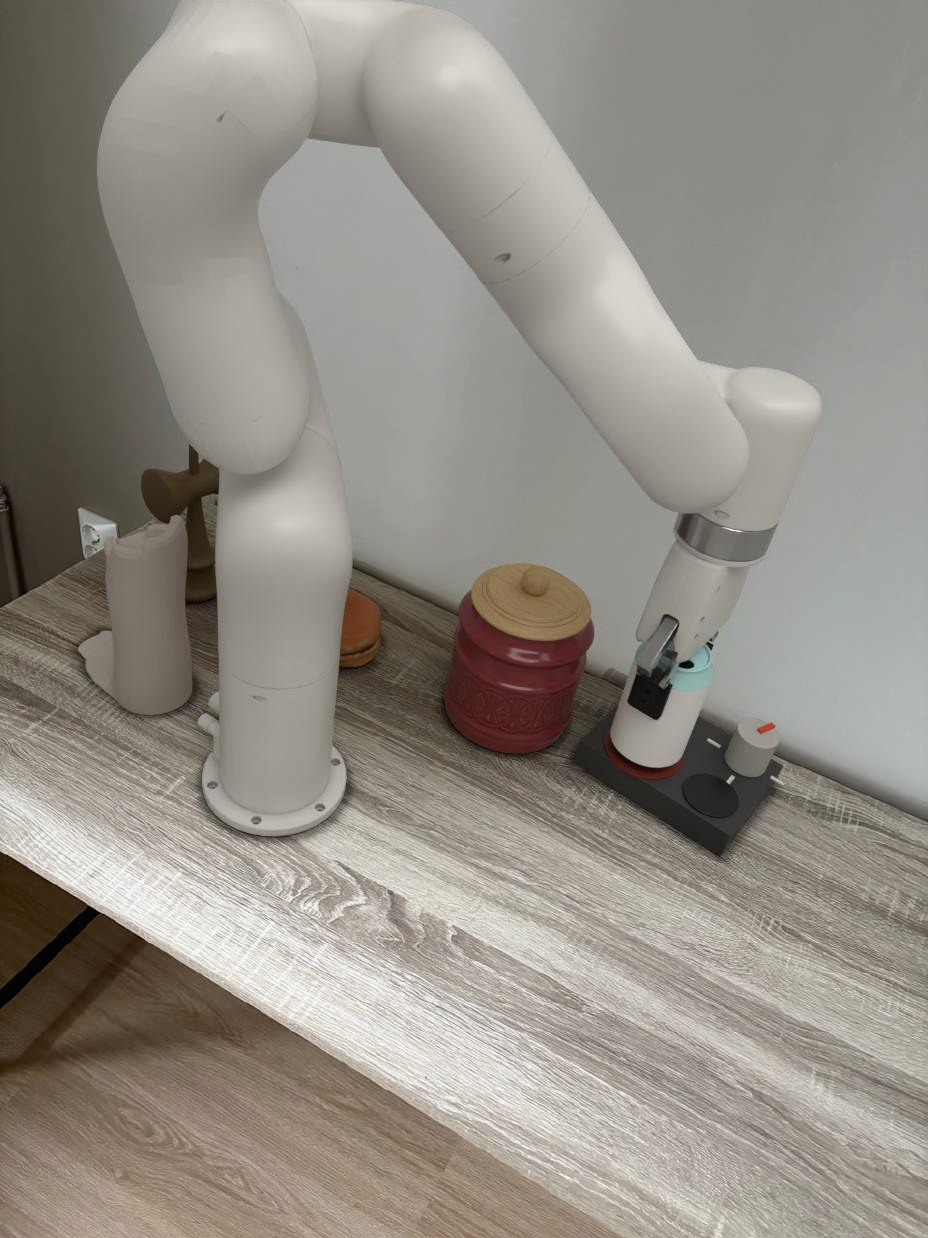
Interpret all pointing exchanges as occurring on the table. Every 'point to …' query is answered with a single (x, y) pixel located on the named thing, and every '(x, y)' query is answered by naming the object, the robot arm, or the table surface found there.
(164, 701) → the candle
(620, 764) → the burners
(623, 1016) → the table surface
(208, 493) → the kendama
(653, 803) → the stove
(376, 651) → the burger
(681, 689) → the can
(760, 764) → the stove knob
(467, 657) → the kitchen canister
